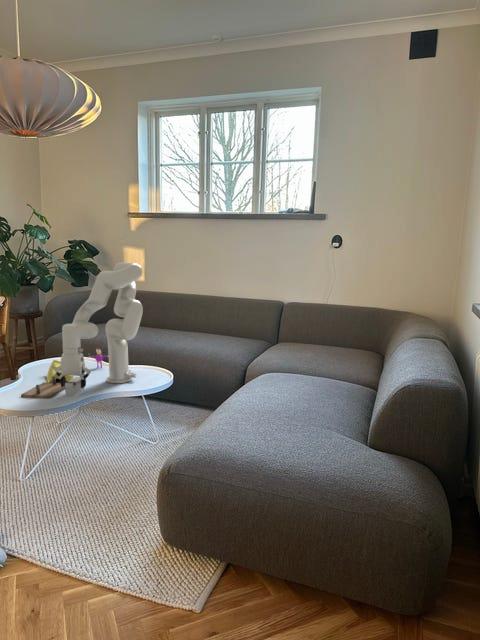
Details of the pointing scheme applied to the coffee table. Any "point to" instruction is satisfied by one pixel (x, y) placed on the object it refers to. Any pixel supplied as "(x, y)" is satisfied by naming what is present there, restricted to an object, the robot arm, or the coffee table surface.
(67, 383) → the block
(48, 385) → the pin tray
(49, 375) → the plastic component
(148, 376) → the coffee table surface
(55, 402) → the coffee table surface
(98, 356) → the purple doll figure
